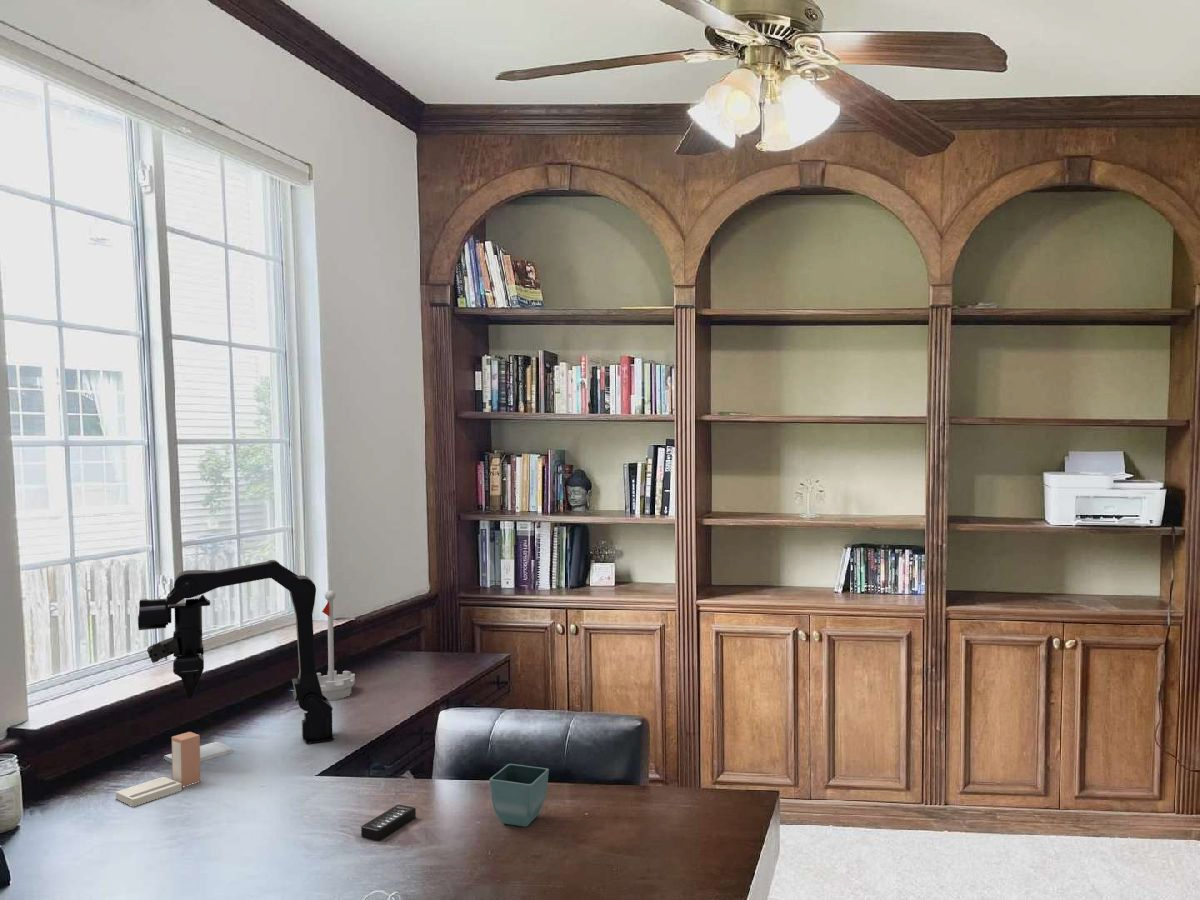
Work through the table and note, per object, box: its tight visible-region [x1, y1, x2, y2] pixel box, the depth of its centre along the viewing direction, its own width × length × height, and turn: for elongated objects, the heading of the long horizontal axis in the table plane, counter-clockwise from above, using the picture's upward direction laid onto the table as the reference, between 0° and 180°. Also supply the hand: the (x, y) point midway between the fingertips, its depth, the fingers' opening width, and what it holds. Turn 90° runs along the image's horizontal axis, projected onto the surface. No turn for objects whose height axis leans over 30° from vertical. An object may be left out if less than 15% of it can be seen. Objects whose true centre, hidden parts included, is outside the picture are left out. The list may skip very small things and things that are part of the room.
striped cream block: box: [115, 776, 184, 808], centre depth 183 cm, size 11×7×2 cm, turn 144°
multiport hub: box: [360, 804, 417, 842], centre depth 166 cm, size 4×11×2 cm, turn 155°
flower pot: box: [489, 763, 550, 827], centre depth 168 cm, size 9×9×9 cm
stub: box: [171, 731, 202, 788], centre depth 189 cm, size 4×4×10 cm
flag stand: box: [316, 589, 356, 701], centre depth 254 cm, size 13×13×30 cm
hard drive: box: [163, 741, 234, 764], centre depth 205 cm, size 2×8×12 cm
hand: (189, 693), depth 205 cm, fingers open, 9 cm apart
